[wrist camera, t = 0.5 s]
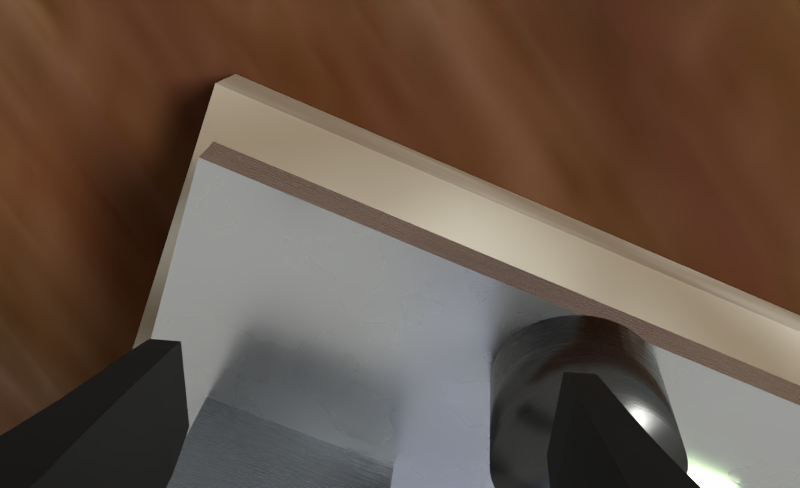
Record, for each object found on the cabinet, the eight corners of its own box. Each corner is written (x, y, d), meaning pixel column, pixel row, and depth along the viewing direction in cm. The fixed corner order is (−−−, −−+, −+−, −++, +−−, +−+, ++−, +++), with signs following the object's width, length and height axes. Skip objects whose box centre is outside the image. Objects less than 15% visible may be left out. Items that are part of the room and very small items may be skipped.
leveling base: (667, 641, 28) (683, 687, 26) (117, 440, 26) (92, 475, 24) (900, 358, 23) (941, 391, 21) (235, 73, 21) (215, 83, 19)
